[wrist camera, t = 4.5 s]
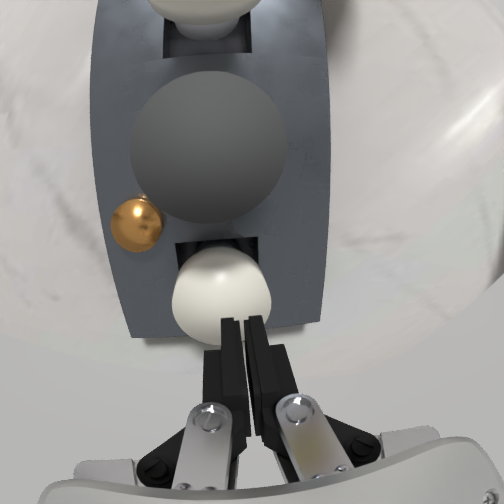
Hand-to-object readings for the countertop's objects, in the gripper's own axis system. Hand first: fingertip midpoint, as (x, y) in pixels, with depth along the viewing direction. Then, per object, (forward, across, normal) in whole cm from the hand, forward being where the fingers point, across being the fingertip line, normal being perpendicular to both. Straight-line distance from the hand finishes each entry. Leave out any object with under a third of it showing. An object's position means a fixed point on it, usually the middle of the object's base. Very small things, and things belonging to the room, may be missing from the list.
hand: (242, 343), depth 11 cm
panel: (+10, +1, -8) cm, 12 cm away
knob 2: (+9, +1, 0) cm, 9 cm away
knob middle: (+6, +1, -8) cm, 10 cm away
